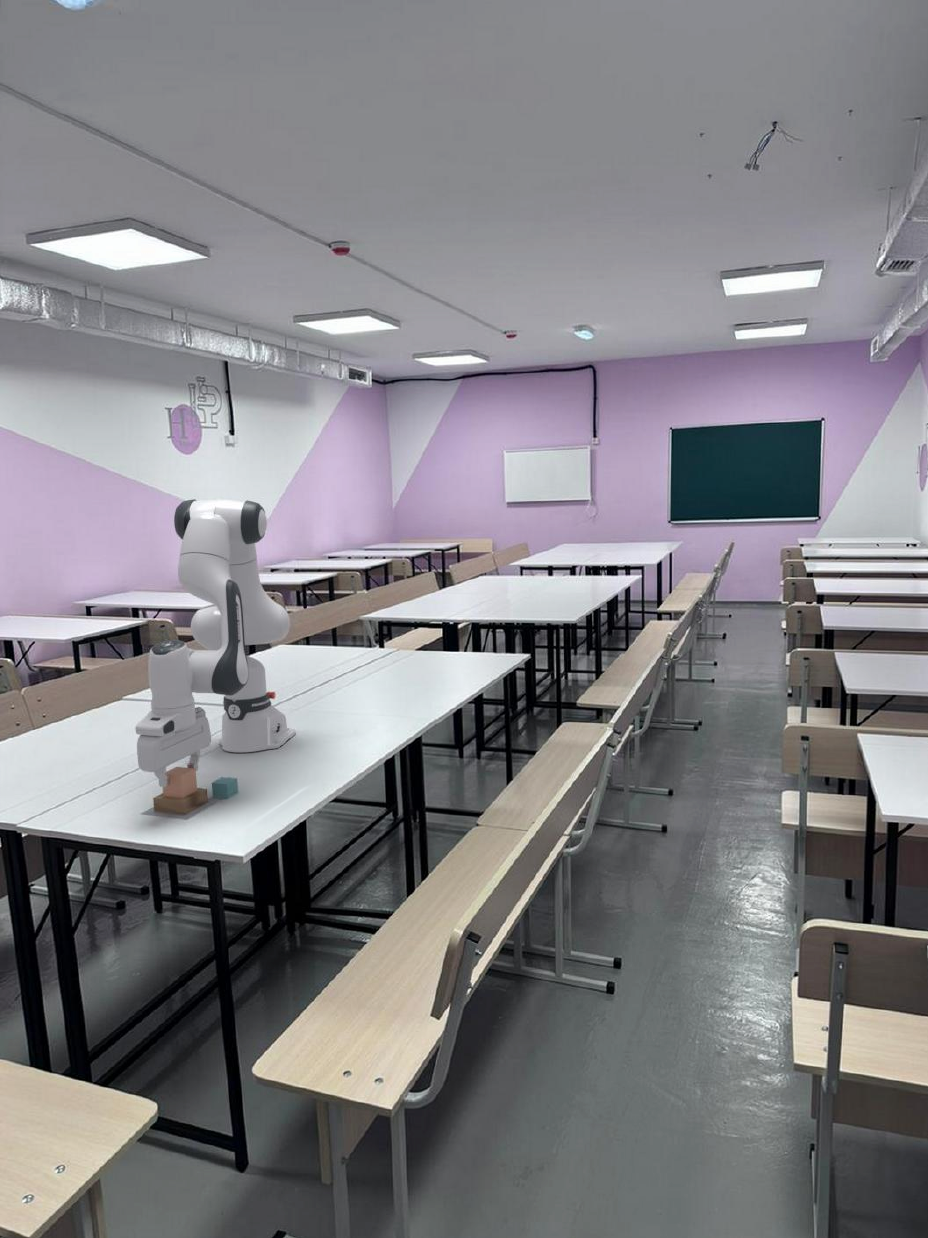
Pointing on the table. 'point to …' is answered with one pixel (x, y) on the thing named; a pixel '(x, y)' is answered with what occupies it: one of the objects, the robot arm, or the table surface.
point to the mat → (179, 816)
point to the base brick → (180, 802)
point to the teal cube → (224, 787)
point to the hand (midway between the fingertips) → (179, 778)
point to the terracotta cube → (180, 782)
